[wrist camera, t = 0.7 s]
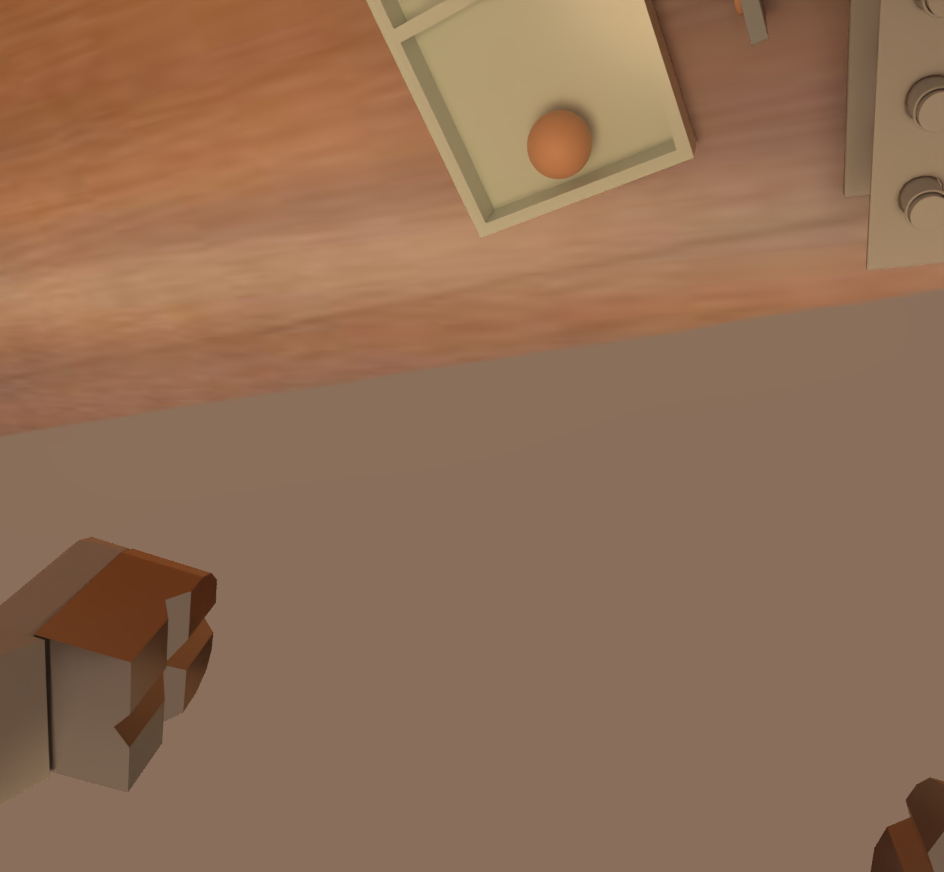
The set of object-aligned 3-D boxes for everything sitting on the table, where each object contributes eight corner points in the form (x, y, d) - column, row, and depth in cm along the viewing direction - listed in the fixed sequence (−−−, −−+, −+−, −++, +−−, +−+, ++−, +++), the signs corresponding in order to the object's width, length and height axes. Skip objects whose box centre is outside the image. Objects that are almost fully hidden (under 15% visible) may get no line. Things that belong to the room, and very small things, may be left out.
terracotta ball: (582, 91, 47) (571, 109, 44) (605, 152, 48) (596, 174, 45) (524, 117, 48) (510, 136, 45) (548, 175, 50) (536, 197, 47)
